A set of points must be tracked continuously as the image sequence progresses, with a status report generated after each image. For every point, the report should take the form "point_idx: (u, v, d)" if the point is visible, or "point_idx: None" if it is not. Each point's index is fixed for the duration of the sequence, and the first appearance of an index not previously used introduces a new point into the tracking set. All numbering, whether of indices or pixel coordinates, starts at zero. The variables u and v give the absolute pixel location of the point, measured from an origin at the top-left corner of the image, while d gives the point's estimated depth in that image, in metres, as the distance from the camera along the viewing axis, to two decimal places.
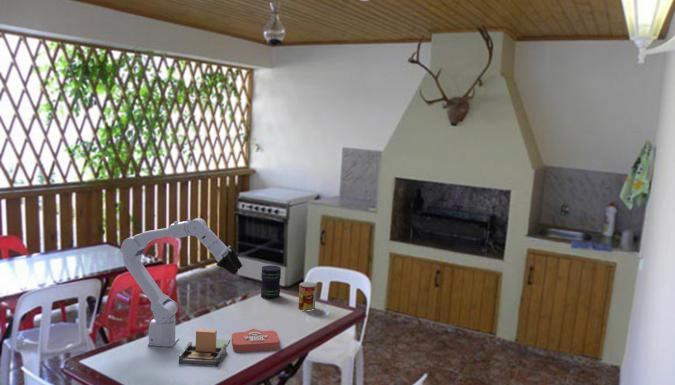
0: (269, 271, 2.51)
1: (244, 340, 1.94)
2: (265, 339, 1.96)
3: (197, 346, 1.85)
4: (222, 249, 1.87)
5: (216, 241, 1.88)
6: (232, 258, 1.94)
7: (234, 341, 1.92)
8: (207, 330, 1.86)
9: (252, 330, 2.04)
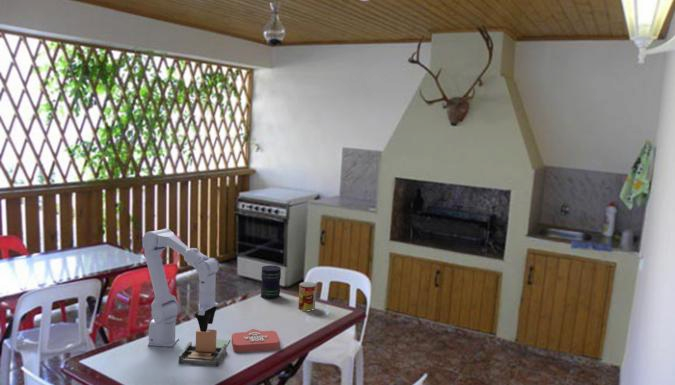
0: (269, 271, 2.51)
1: (244, 340, 1.93)
2: (265, 339, 1.95)
3: (197, 346, 1.85)
4: (210, 303, 1.82)
5: (211, 293, 1.82)
6: (210, 311, 1.89)
7: (234, 341, 1.92)
8: (207, 330, 1.86)
9: (252, 330, 2.04)
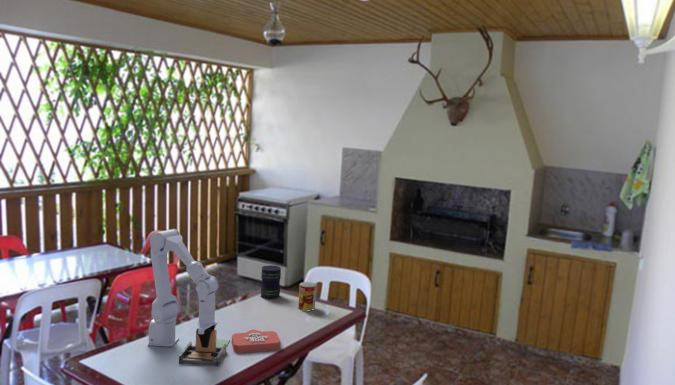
0: (269, 271, 2.51)
1: (245, 341, 1.93)
2: (266, 340, 1.95)
3: (197, 346, 1.85)
4: (209, 322, 1.83)
5: (211, 312, 1.83)
6: None
7: (235, 342, 1.92)
8: None
9: (252, 331, 2.03)
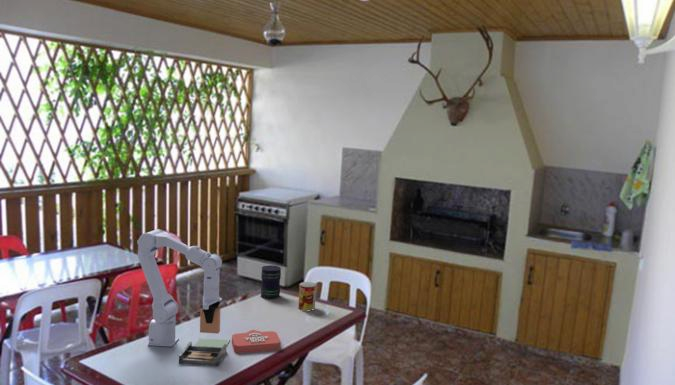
0: (269, 271, 2.51)
1: (245, 341, 1.93)
2: (266, 340, 1.95)
3: (201, 324, 1.90)
4: (214, 298, 1.88)
5: (215, 288, 1.88)
6: None
7: (235, 342, 1.91)
8: None
9: (252, 331, 2.03)
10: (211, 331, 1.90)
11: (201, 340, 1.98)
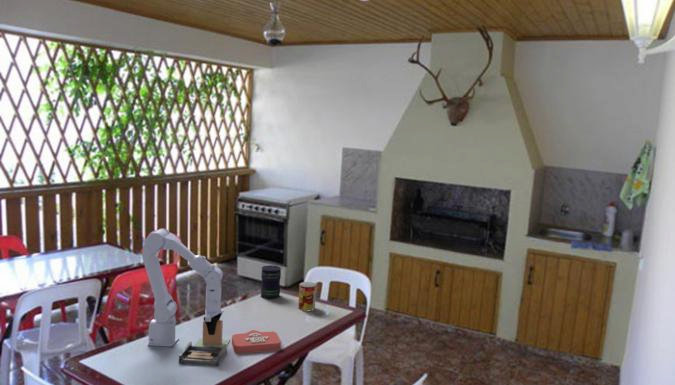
0: (269, 271, 2.51)
1: (245, 341, 1.92)
2: (266, 340, 1.95)
3: (204, 336, 1.94)
4: (216, 310, 1.92)
5: (217, 301, 1.92)
6: None
7: (235, 343, 1.91)
8: None
9: (252, 331, 2.03)
10: (213, 343, 1.94)
11: (201, 340, 1.98)
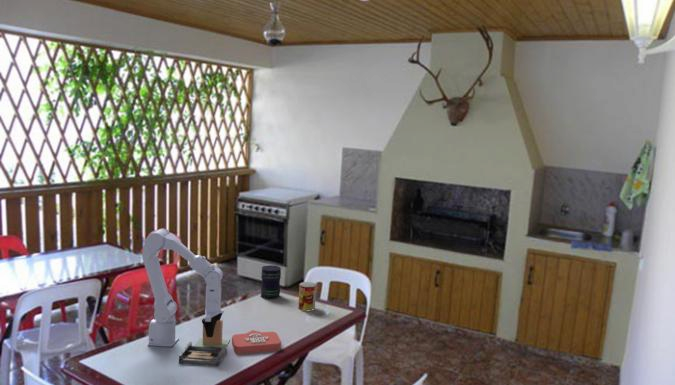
0: (269, 271, 2.51)
1: (245, 342, 1.92)
2: (266, 340, 1.94)
3: (204, 336, 1.94)
4: (216, 310, 1.92)
5: (217, 301, 1.92)
6: (215, 317, 1.98)
7: (235, 343, 1.91)
8: None
9: (252, 332, 2.02)
10: (213, 343, 1.94)
11: (201, 340, 1.98)
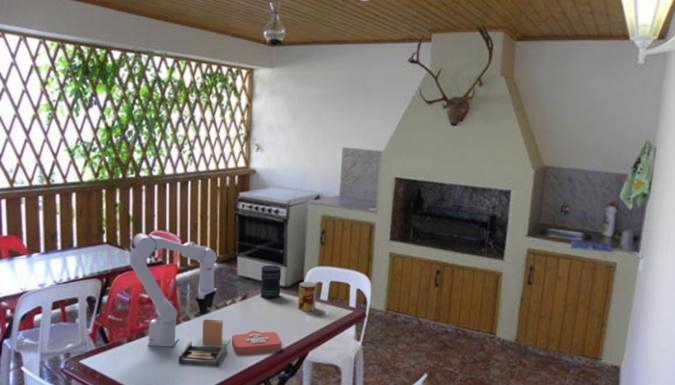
0: (269, 271, 2.51)
1: (246, 342, 1.92)
2: (267, 341, 1.94)
3: (204, 336, 1.94)
4: (209, 288, 1.99)
5: (210, 279, 1.99)
6: (209, 296, 2.05)
7: (236, 343, 1.90)
8: (214, 320, 1.95)
9: (252, 332, 2.02)
10: (213, 343, 1.94)
11: (201, 340, 1.98)
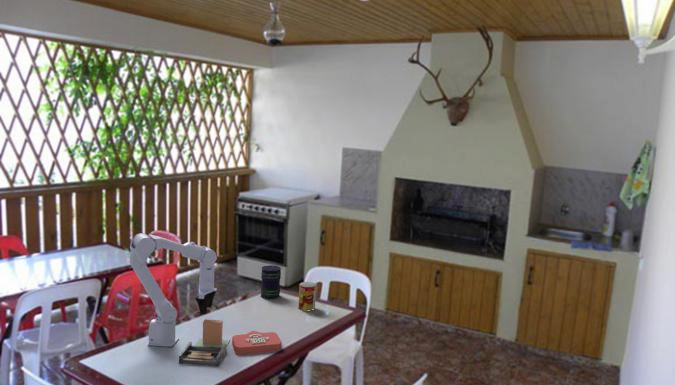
0: (269, 271, 2.51)
1: (246, 342, 1.92)
2: (267, 341, 1.94)
3: (204, 336, 1.94)
4: (209, 288, 1.99)
5: (210, 279, 1.99)
6: (209, 296, 2.05)
7: (236, 344, 1.90)
8: (214, 320, 1.95)
9: (252, 332, 2.02)
10: (213, 343, 1.94)
11: (201, 340, 1.98)
